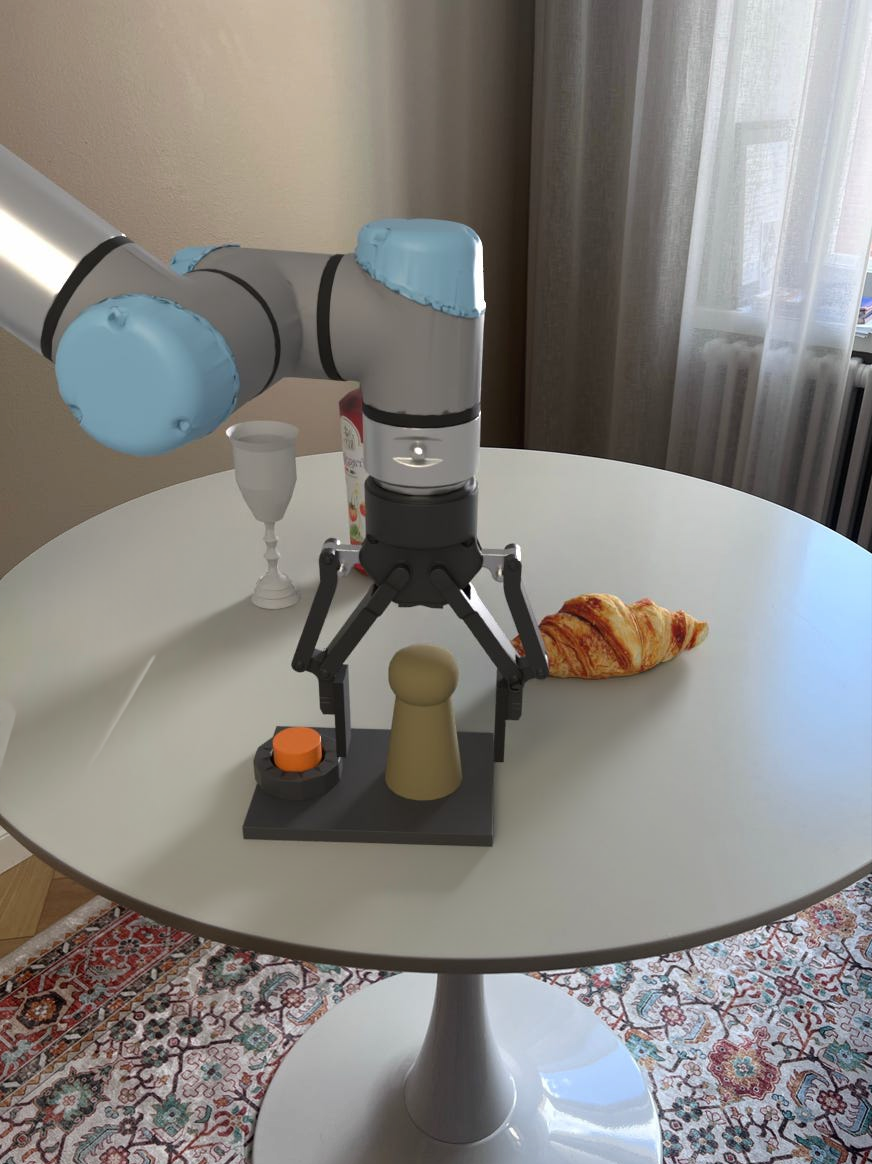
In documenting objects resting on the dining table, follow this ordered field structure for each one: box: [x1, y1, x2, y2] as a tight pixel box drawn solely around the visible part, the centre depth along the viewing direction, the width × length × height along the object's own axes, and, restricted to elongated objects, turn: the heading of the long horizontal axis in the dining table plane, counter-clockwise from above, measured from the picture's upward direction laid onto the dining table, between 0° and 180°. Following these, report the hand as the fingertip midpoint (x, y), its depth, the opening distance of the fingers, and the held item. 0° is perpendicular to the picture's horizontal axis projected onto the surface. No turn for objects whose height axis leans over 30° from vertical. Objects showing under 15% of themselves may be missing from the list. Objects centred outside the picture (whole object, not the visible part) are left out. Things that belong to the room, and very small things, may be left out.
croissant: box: [509, 592, 710, 680], centre depth 97 cm, size 21×10×8 cm, turn 109°
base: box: [241, 725, 494, 848], centre depth 79 cm, size 18×13×3 cm
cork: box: [385, 643, 463, 800], centre depth 76 cm, size 6×6×11 cm
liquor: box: [338, 384, 370, 577], centre depth 108 cm, size 7×7×28 cm
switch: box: [273, 726, 322, 772], centre depth 78 cm, size 4×4×2 cm
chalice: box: [225, 420, 301, 610], centre depth 103 cm, size 7×7×18 cm
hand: (421, 749), depth 78 cm, fingers open, 11 cm apart
